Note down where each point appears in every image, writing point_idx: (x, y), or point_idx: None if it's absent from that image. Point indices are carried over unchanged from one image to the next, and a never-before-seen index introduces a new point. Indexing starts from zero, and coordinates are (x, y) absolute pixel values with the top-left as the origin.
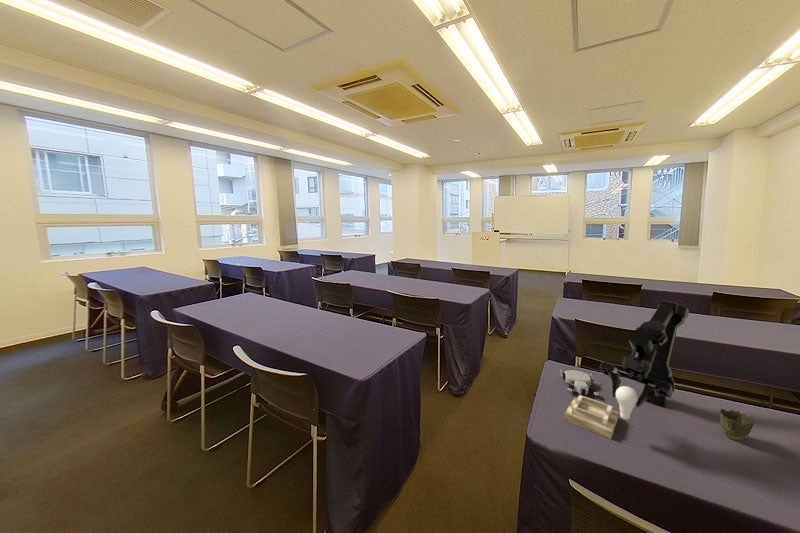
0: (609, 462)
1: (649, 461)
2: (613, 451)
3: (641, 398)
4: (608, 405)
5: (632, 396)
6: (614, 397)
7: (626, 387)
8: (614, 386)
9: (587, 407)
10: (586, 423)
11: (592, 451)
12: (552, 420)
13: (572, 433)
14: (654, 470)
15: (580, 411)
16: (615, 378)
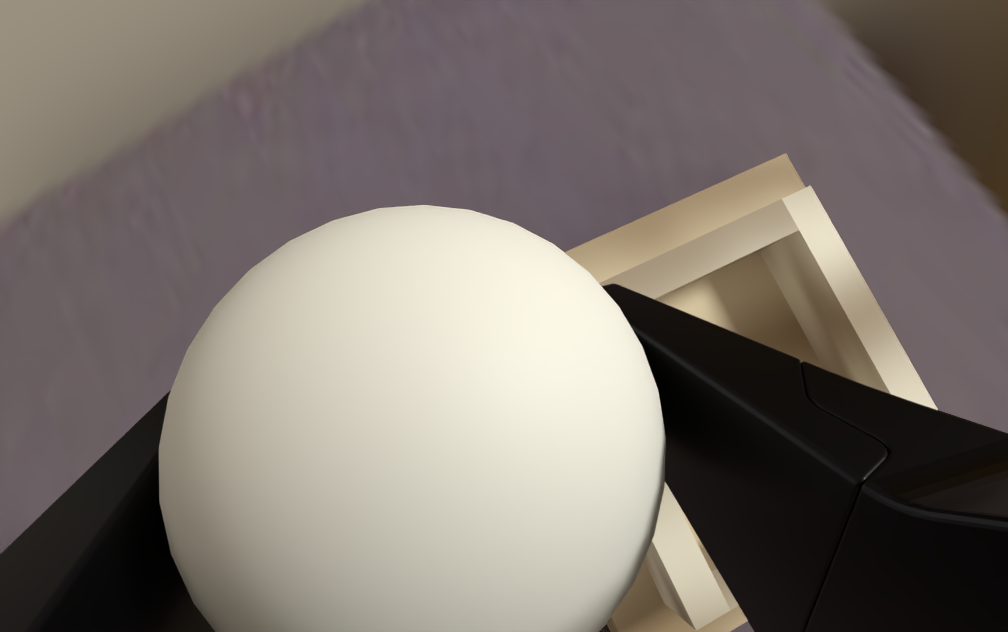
0: (310, 76)
1: (181, 348)
2: (365, 202)
3: (64, 517)
4: (719, 593)
5: (209, 318)
6: None
7: (445, 400)
8: (744, 370)
9: None
10: (630, 223)
11: (427, 69)
12: (774, 98)
13: (613, 106)
14: (115, 286)
15: (738, 221)
16: (997, 492)
